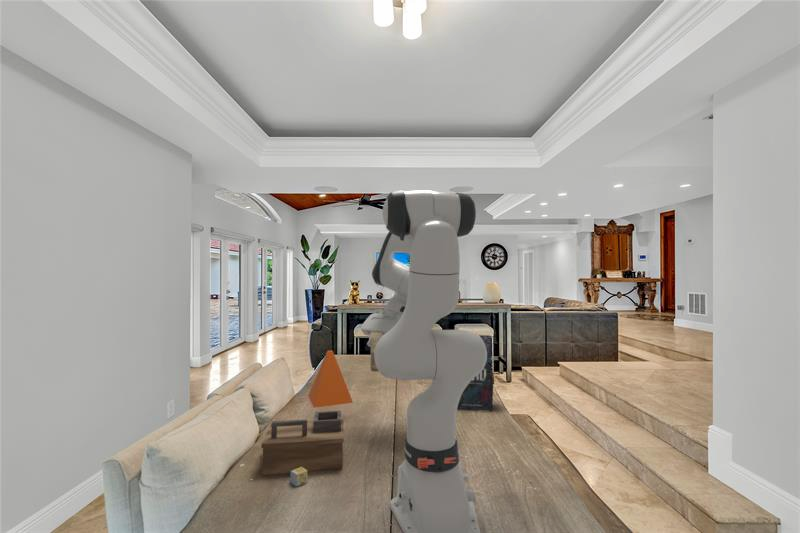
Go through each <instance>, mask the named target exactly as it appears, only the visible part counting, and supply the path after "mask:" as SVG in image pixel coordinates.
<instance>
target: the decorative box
mask: <svg viewBox="0 0 800 533" xmlns="http://www.w3.org/2000/svg"><path fill="white" fill-rule="evenodd" d="M478 335H479V336H480V337H481V338H482V340H483V342H484V344H485V346H486V350H487V361H486V364H485V367H484V368H483V370H482V371H481V373H480V374H478V375H477V376H476V377H474V378H473V379H472V380H471V381H470V383H469V384H468V385H467V387H466V388H465V390H464V391H463V393H462V395H461V397H460V400H459V403H458V407H457V410H460V409H461V411H462V410H463V411H478V410H489V411H488V412H491V411H490V410H492V411H493V400H494V397H493V396H494V380H493V369H492V368H493V366H492V338H491V335H489V334H488V335H487V334H486V335H485V334H484V335H483V334H478Z"/></svg>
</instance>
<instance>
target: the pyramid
mask: <svg viewBox="0 0 800 533" xmlns="http://www.w3.org/2000/svg"><path fill="white" fill-rule="evenodd" d="M320 364H321V365H320V367H319V370H318V371H317V374H316V377H315V378H314V381H313V383H312V385H311V388H310V390H309V392H308V395H307V396H308V398H309V401H310V402H311V406H312V407H313V408H315V409H316V408H321V407H329V406H330V407H331V406H337V405H338V406H339V405H345V404H352V403H353V402H354V401H353V400H352V396H351V394H350V392H349V389H348V386H347V384H346V382H345V379H344V376H343V374H342V370H341V368H340V366H339V364H338V361H337V358H336V355H335V353H334V351H333V350H327V351H326V354H325V355H324V357H323V360H322V362H321V363H320Z"/></svg>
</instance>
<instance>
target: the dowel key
mask: <svg viewBox="0 0 800 533" xmlns="http://www.w3.org/2000/svg"><path fill="white" fill-rule="evenodd" d="M382 336H383V332H380V331H372V332H371V347H370V371H371V372H378V373H379V370H378V369H377V367H376V364H375V359H374V352H375V347H376V345H377V343H378V341H379V339H380V338H381V337H382Z"/></svg>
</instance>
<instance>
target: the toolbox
mask: <svg viewBox="0 0 800 533" xmlns="http://www.w3.org/2000/svg"><path fill="white" fill-rule="evenodd" d="M313 418H314V419H313V420H310V421H309V420H308V419H291V420H277V421H276V420H273V421H272V422H271V424H270V425H269V427H268V429H267V431H266V434H265V436H264V438H263V440H262V442H261V443H260V444H261V445H260V446H261V447H260V448H261V449H262V475H263V476H264V475H278V474H291V471H292V470H295V469H297V468H300V467H303V468H304V469H306V470H307V472H313V471H314V472H315V471H316V472H317V471H328V470H340V469H342V470H343V456H344V455H343V452H344V451H343V449H344V447H343V443H344V441H345V436H344V434H345V432H344V431H345V430H344V427H345V426H344V423H345V422H344V421H345V420H344V418H342V411H341V410H327V411H324V410H323V411H315V412H314V417H313Z"/></svg>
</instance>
